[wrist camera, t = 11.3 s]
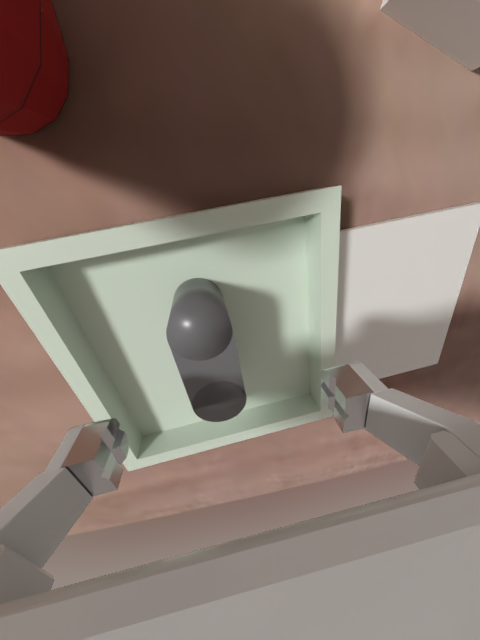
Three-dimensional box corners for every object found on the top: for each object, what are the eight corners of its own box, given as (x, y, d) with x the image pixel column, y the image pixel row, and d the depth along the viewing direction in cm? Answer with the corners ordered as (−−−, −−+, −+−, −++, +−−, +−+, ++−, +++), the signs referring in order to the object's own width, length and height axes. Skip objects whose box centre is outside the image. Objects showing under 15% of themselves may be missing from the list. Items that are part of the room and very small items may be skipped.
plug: (166, 283, 13) (156, 312, 10) (217, 273, 14) (225, 297, 10) (204, 397, 18) (206, 446, 14) (242, 388, 18) (254, 433, 14)
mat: (476, 202, 15) (486, 202, 15) (431, 359, 21) (437, 363, 21) (332, 231, 14) (337, 232, 14) (328, 386, 20) (332, 391, 20)
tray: (317, 188, 13) (341, 185, 11) (317, 393, 21) (332, 416, 18) (19, 244, 12) (-21, 253, 10) (136, 440, 19) (128, 471, 17)
